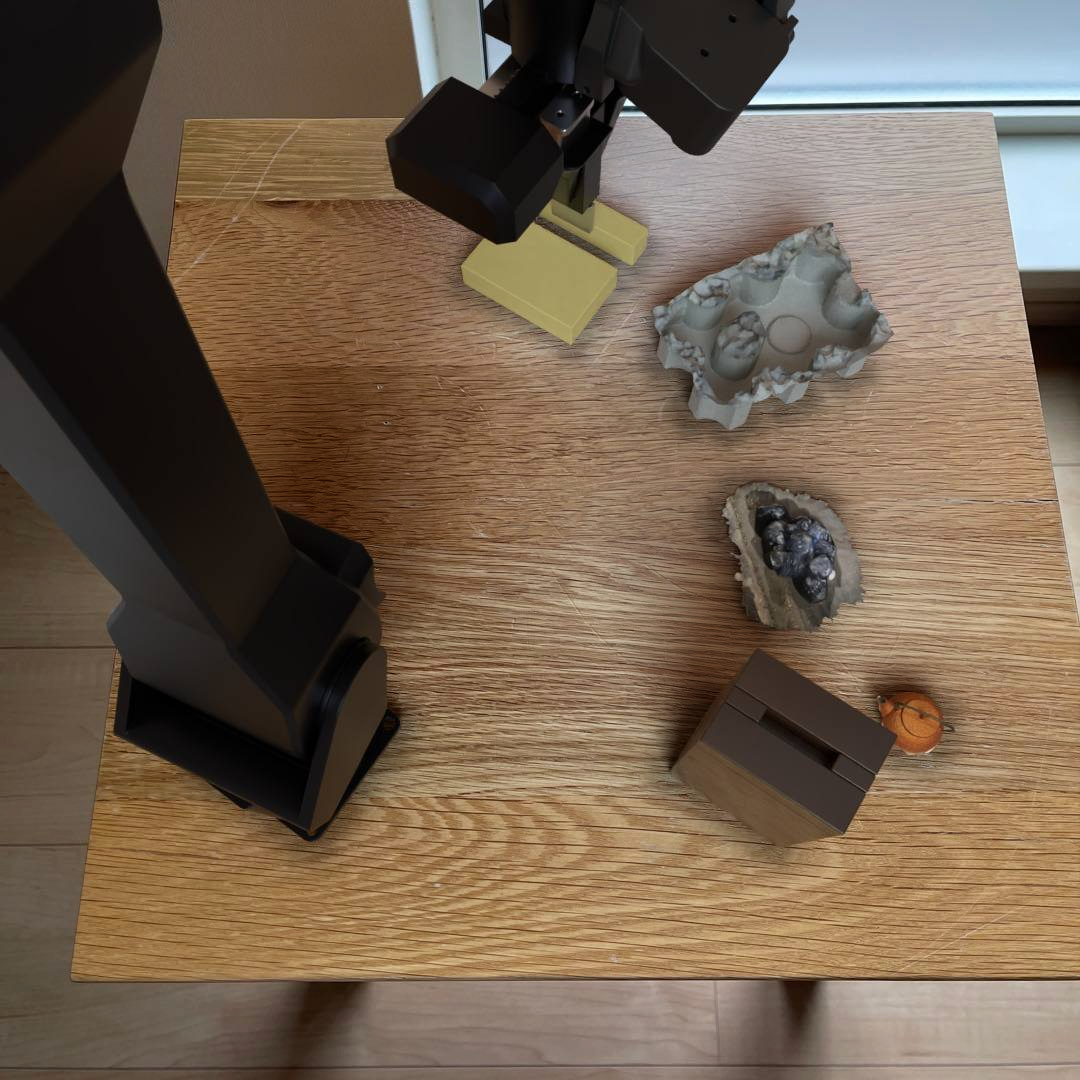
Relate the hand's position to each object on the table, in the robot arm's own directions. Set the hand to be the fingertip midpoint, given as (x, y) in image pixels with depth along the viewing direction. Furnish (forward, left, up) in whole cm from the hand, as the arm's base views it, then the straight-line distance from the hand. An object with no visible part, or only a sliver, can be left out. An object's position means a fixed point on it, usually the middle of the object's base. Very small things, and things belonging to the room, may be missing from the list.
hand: (571, 187), depth 47 cm
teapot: (-13, -27, -5) cm, 30 cm away
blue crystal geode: (-9, -18, -5) cm, 21 cm away
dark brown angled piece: (0, 0, -2) cm, 3 cm away
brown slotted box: (-19, -22, -5) cm, 29 cm away
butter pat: (+2, 0, -5) cm, 5 cm away
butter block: (-3, 0, -5) cm, 6 cm away
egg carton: (0, -12, -5) cm, 13 cm away
